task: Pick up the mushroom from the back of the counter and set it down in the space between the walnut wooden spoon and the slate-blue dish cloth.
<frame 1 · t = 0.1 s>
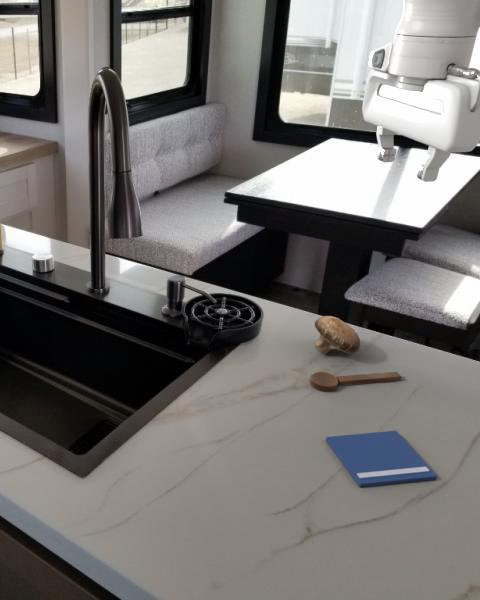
hand: (404, 170, 85), 33 cm above the worktop, tool pointing down, fingers open, 8 cm apart
mushroom: (333, 351, 106), on the worktop
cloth: (378, 459, 82), on the worktop
spoon: (349, 382, 98), on the worktop
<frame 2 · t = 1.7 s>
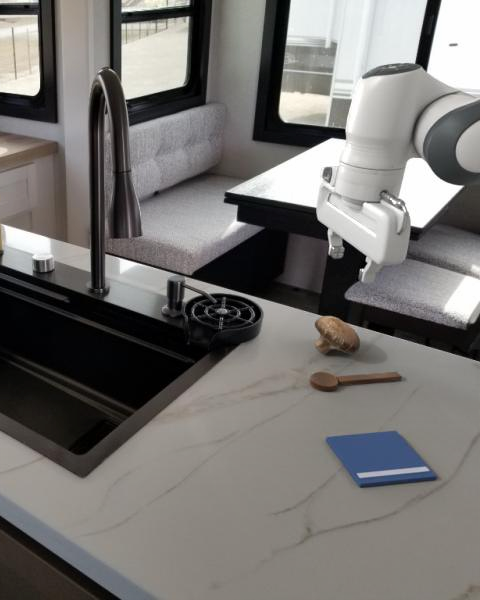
hand: (349, 268, 99), 15 cm above the worktop, tool pointing down, fingers open, 8 cm apart
nothing on the worktop moved.
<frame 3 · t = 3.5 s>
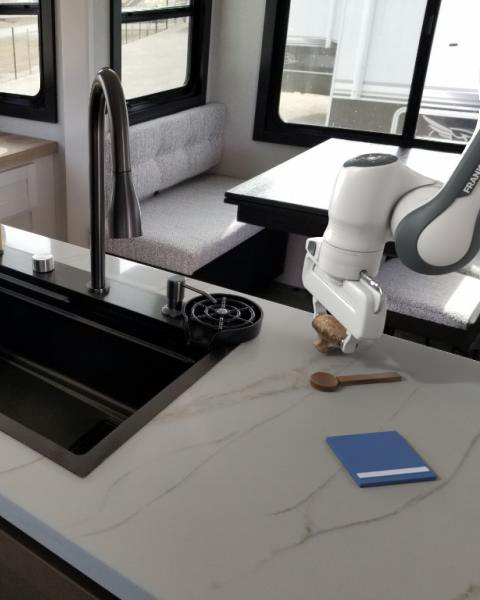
hand: (332, 335, 105), 3 cm above the worktop, tool pointing down, fingers closed on mushroom, 8 cm apart
mushroom: (333, 350, 106), on the worktop, touching gripper
everything else where it was.
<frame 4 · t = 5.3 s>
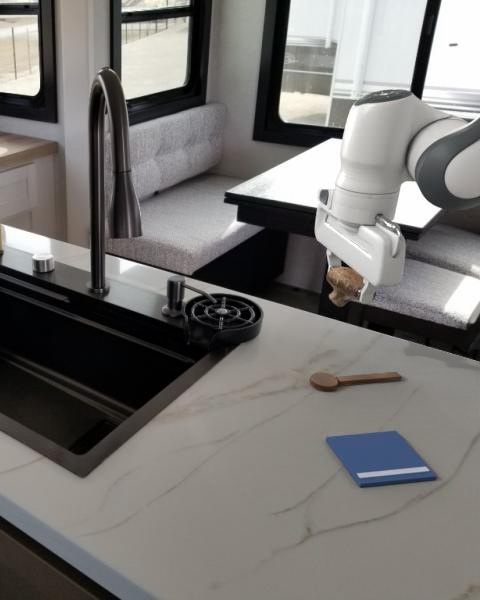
hand: (348, 288, 101), 12 cm above the worktop, tool pointing down, fingers closed on mushroom, 8 cm apart
mushroom: (350, 304, 102), point 9 cm above the worktop, touching gripper
everything else where it was.
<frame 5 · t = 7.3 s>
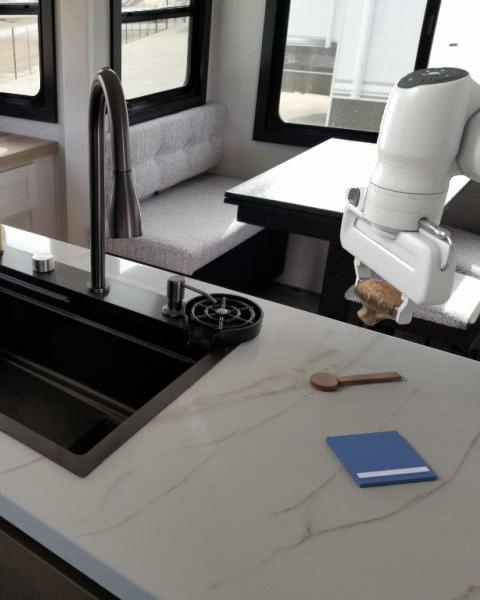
hand: (380, 304, 86), 16 cm above the worktop, tool pointing down, fingers closed on mushroom, 8 cm apart
mushroom: (381, 323, 87), point 13 cm above the worktop, touching gripper
everything else where it was.
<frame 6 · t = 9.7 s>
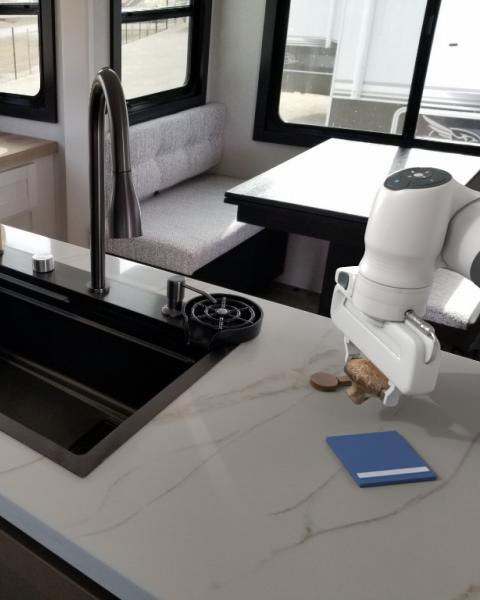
hand: (369, 383, 89), 5 cm above the worktop, tool pointing down, fingers closed on mushroom, 8 cm apart
mushroom: (370, 400, 90), point 2 cm above the worktop, touching gripper
everything else where it was.
when the fingers open (3 cm above the worktop, at t = 11.2 s): mushroom stays where it is, on the worktop.
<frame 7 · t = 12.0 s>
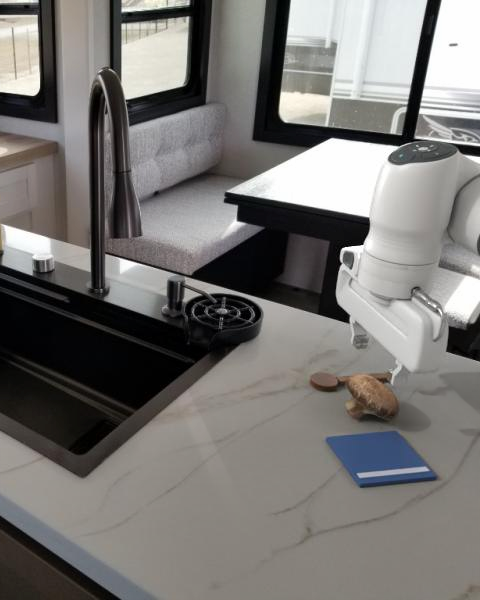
hand: (376, 364, 87), 8 cm above the worktop, tool pointing down, fingers open, 8 cm apart
mushroom: (366, 415, 91), on the worktop
everything else where it was.
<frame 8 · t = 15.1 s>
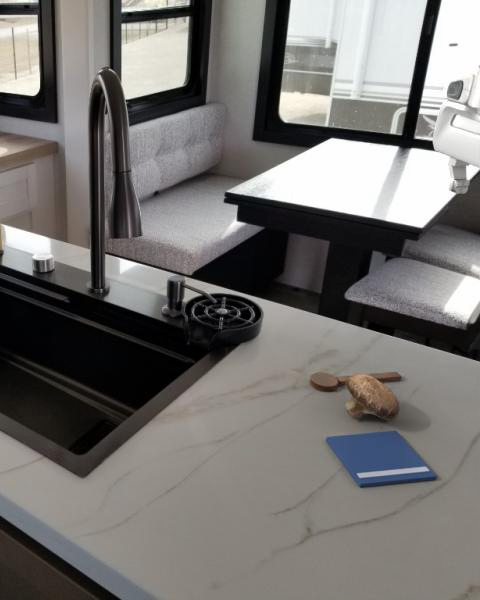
nothing on the worktop moved.
at the end: mushroom inside the target area on the worktop beside the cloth (1.0 cm from its centre), on the worktop; mushroom tilted 0°; spoon moved 0.0 cm from its start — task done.
